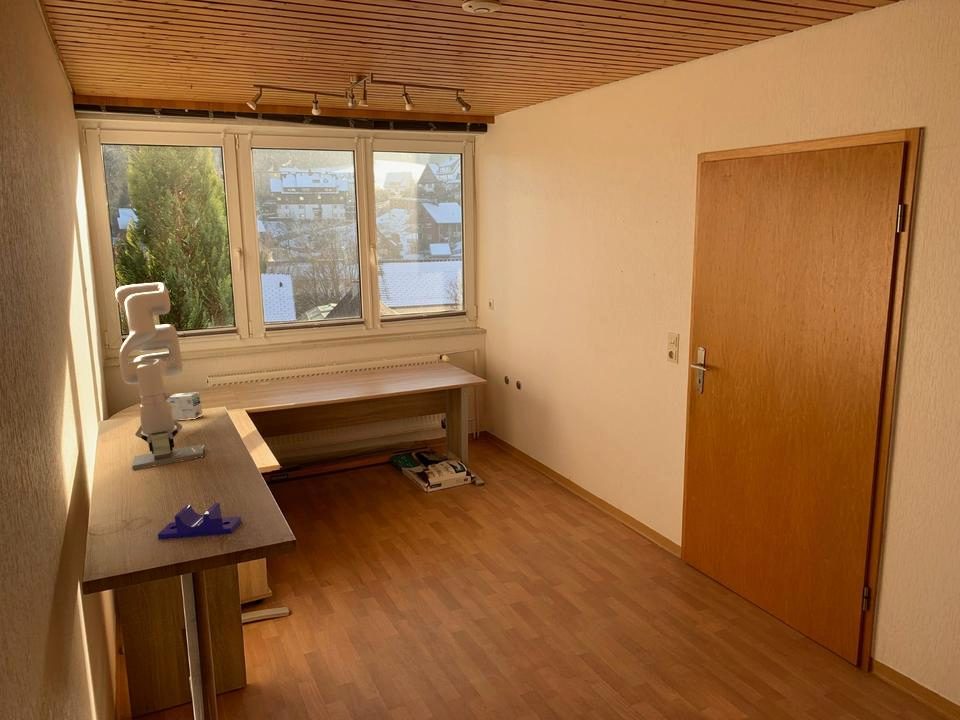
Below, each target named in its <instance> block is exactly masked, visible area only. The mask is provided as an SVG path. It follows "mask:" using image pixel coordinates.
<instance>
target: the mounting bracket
mask: <svg viewBox="0 0 960 720" xmlns="http://www.w3.org/2000/svg"><path fill="white" fill-rule="evenodd" d="M220 505H221V504H220V502H214V503H213V504H212V505H211V506H210V507H209V508H208V509H207V511H205V512H204V513H203V514H199V513H197V512H196V511H194V509H193V507H192V504H186V505H185V506H184V507H183V508H182V509H181V510H179V512H177V513H176V514H175V515H174V521H173V522H172V521H170V522H169V523H168V524H167V525H166V526H165V527H164V528H162V530H161V531H159V532H158V534H157V538H158V541H159V540H160V539H162V540H170V539H169V538H174V539H182V538H196V537H207V536H209V537H210V536H218V535H219V536H221V535H231V534H233V533H234V532H235V530H237V528H238V527H239V525H240V524H241V523H242V517H241V516H233V517H232V516H231V517H230V516H229V517H222V511H221V506H220ZM164 538H165V539H164Z"/></svg>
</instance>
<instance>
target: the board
mask: <svg viewBox="0 0 960 720" xmlns="http://www.w3.org/2000/svg"><path fill="white" fill-rule="evenodd" d="M204 447H205V445H203V444H196V445H192V446H191V445H190V446H185V447H179V448H174V449H173V451H171V457H170V458H165V459H159V460H155V457H154V454H152V452H150V453H147V454H145V453H144V454H141V455H134V458H133V461H132V464H131V467H132V471H134V470H135V469H136V470H140V469H139V468H141V469H145V468H144V467H147V468H149V467H148V466H152V467H154V466H153V465H158V466H160V465H159V464H163V465H168V464H167V463H169V464H173V463H172V462H174V463H178V462H177V461H179V462H182V461H181V460H185V461H188V460H187V459H190V460H192V459H191V458H195V457H201V456H204V457H205V455H204V454H205V453H203V452H204ZM201 458H202V457H201Z"/></svg>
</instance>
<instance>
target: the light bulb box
mask: <svg viewBox="0 0 960 720" xmlns="http://www.w3.org/2000/svg"><path fill="white" fill-rule="evenodd" d="M168 401H169V403H170V405H171V408H172V412H173V417H174V420H179V419H188V418H196V417H198V416H199V415H201V414H202V413H203V409H202V408H203V407H202V402H201V397H200V392H199V391H195V392H194V391H193V392H182V393H174V394H173V395H170V398H168Z"/></svg>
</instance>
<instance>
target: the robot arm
mask: <svg viewBox="0 0 960 720" xmlns="http://www.w3.org/2000/svg"><path fill="white" fill-rule="evenodd" d="M115 299H116V301H117V302H118V304H119V306H120V307H121V308H122V310H123V312H124V313H125V315H126V321H127V326H128V327H127V328H128V332H129V335H128V336H127V338H126V339H125V340H124V342H123V343H122V344H121V346H120V349H119V353H118V362H119V369H120V375H121V378H122V381H123V382H124V383H125V384H127V385H136V384H137V386H138V389H139V390H138V391H139V395H140V400H141V404H140V406H139V418H140V426H139V427H138V428H137V430H136V432H135V436H136V437H138V438H140V439H142V440H143V441H145V442H146V443H148V449H149V452H151V453H152V454H154V451H153V446H152V440H151V435H152V434H154V433H160V432H167V433H168V436H169V444H170V450H171V451H173V448H175V441H174V438H175V437H176V435H177V434H178V433H179V431H181V429H182V430H183V425H182V424H181V423H180V422H179V421H176V420H174V417H173V412H172V408H171V405H170V403H169V398H170V396H171V393H168V391H167V388H166V385H165V384H164V379H165V378H166V377H172V376H177V375H180V374H182V372H183V365H184V363H183V359H182V352H181V347H180V346H181V345H180V341H179V336H178V333H177V329H176V327H174V325H173V324H169V323H164V324H155V319H154V316H160V315H167V314H169V313H170V311H171V299H170V294H169V291H168V288H167V286H166V285H165V283H163V282H151V283H150V282H147V283H137V284H136V283H135V284H129V285H122V286H119V287H118V288H116V290H115ZM134 350H135V351H137V352H142V353H145V352H153V351H160V350H161V351H162V350H166V351H163V352H157V353H149V354H148V353H147V354H143V355H139V356H137V357H135V358H134V359H133V361H130V362H129V356H130V354H131V353H132V352H133V351H134Z"/></svg>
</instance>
